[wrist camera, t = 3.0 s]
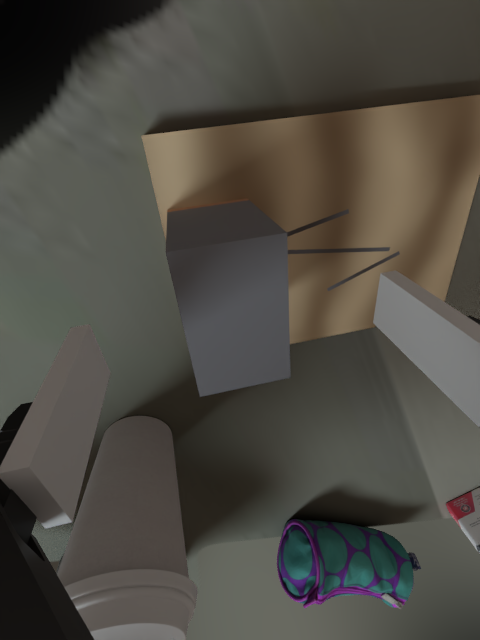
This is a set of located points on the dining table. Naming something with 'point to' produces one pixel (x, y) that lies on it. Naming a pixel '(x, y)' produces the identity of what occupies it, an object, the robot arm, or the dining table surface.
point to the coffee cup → (131, 539)
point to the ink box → (468, 515)
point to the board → (339, 197)
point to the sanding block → (231, 293)
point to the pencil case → (343, 563)
